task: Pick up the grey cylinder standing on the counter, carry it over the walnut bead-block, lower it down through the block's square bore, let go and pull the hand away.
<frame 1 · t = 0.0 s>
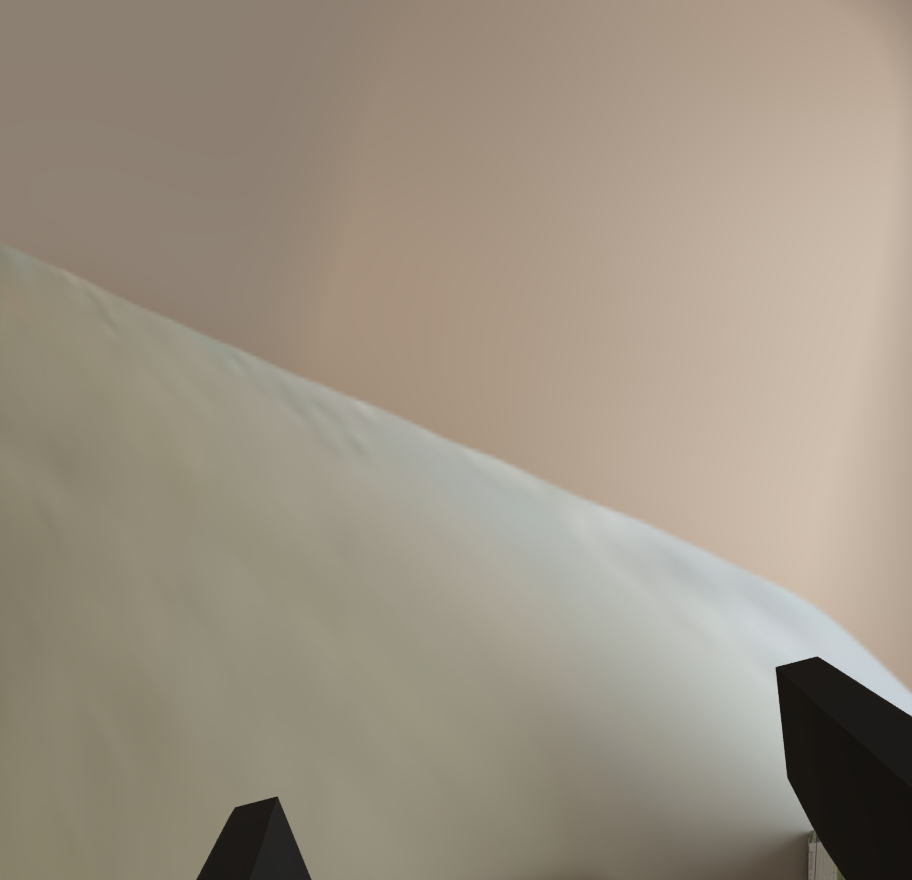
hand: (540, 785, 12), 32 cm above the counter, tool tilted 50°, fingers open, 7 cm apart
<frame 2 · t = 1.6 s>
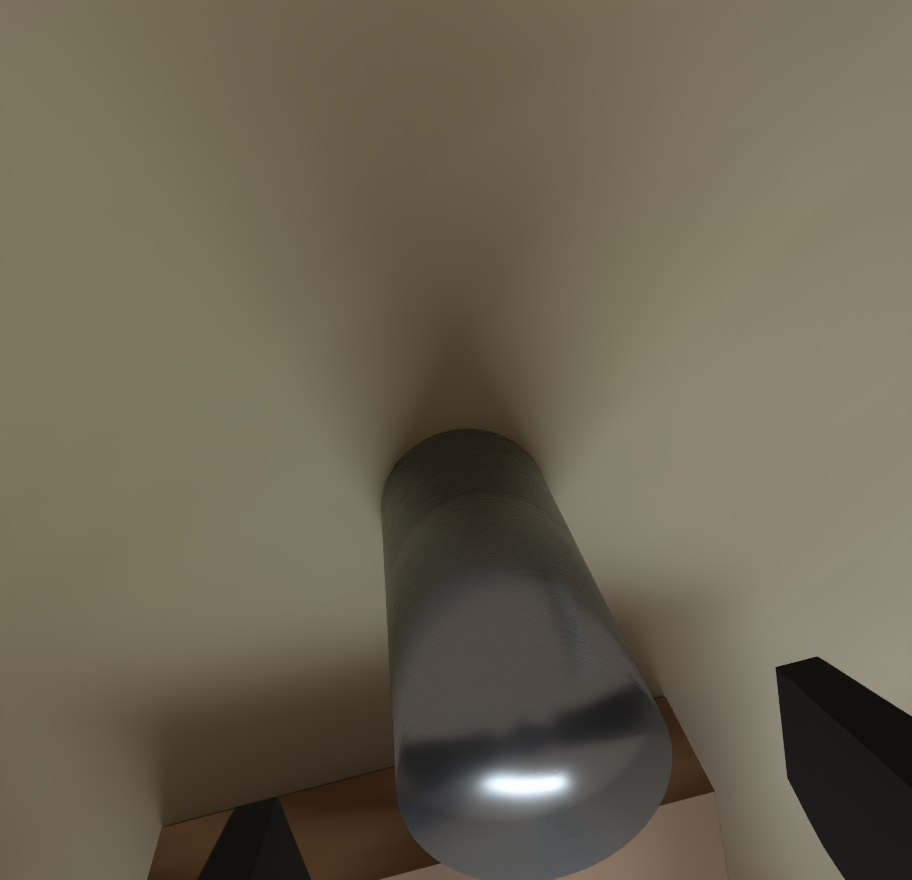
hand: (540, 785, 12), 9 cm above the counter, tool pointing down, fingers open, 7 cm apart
grey cylinder: (464, 507, 21), on the counter
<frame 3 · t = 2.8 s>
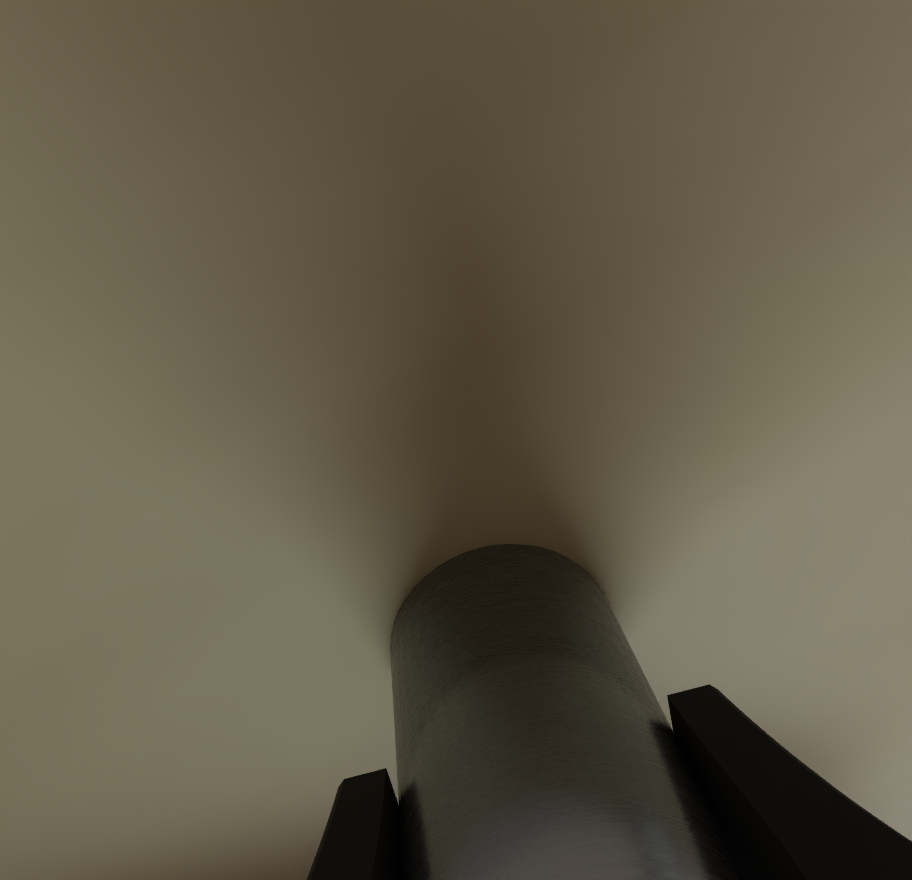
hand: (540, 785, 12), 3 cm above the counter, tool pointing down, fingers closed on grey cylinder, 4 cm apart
grey cylinder: (503, 644, 15), on the counter, touching gripper
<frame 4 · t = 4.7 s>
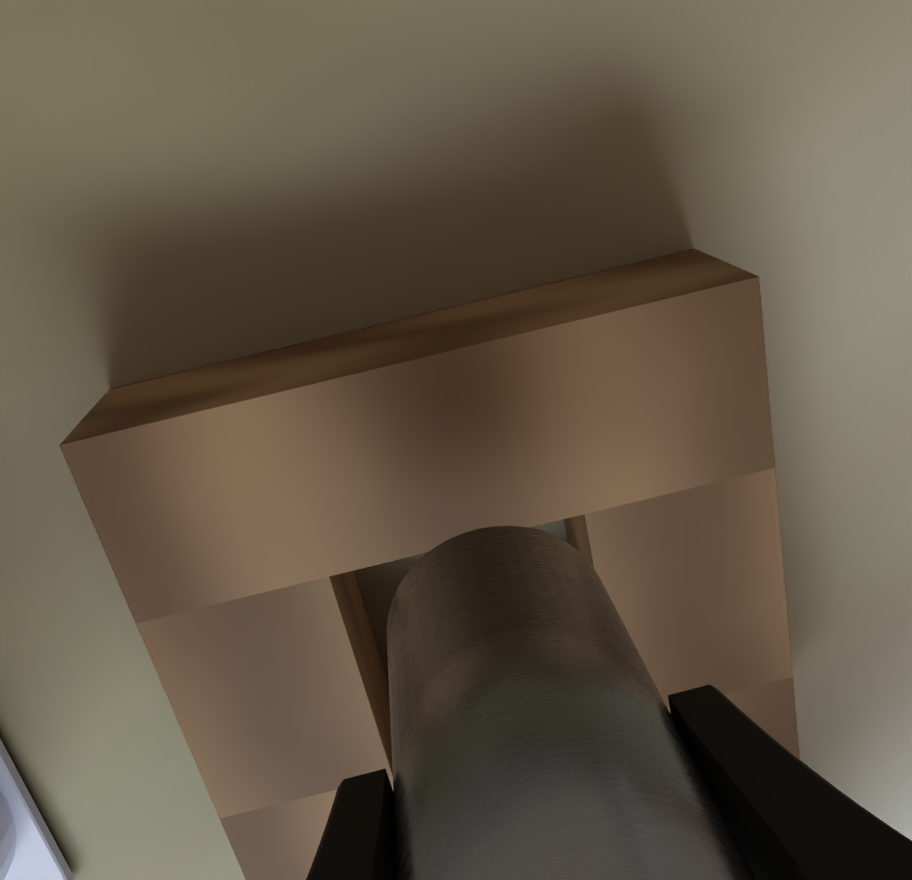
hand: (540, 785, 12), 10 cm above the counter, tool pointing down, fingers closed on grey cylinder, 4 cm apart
bead block: (466, 573, 23), on the counter
grey cylinder: (498, 627, 15), point 7 cm above the counter, touching gripper
when the fingers open (4 cm above the counter, at t = 6.8 s): grey cylinder stays where it is, resting in bead block.
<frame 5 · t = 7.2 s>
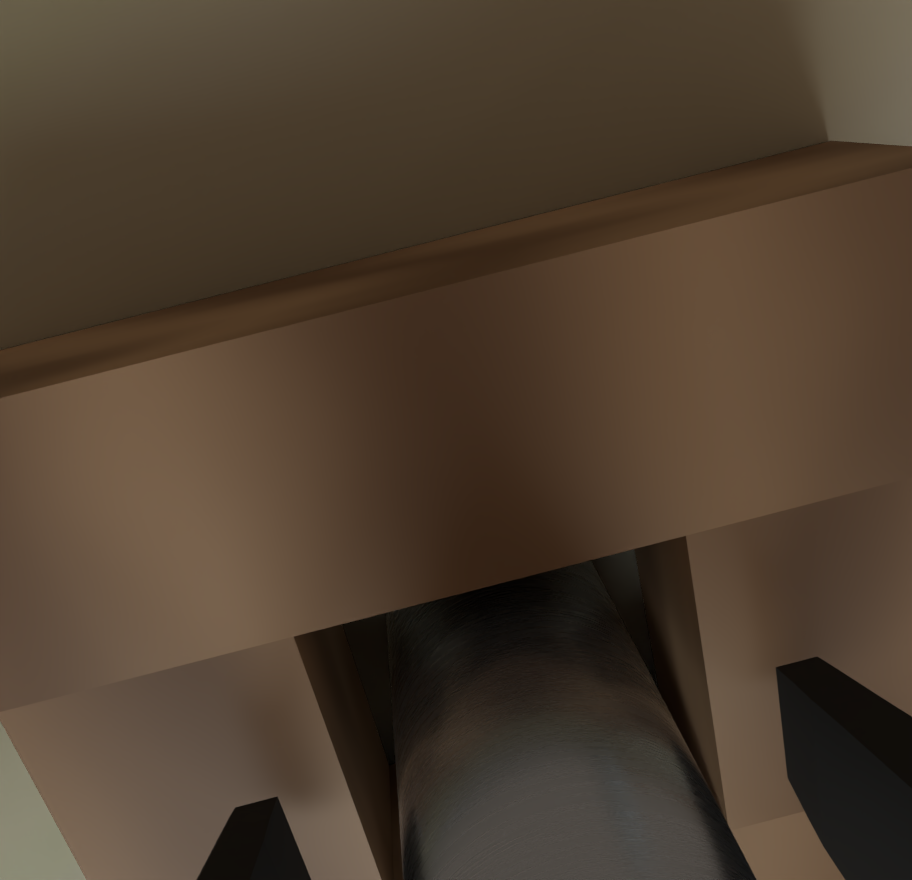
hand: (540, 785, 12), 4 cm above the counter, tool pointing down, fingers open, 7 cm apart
bead block: (495, 614, 16), on the counter
grey cylinder: (492, 603, 16), resting in bead block
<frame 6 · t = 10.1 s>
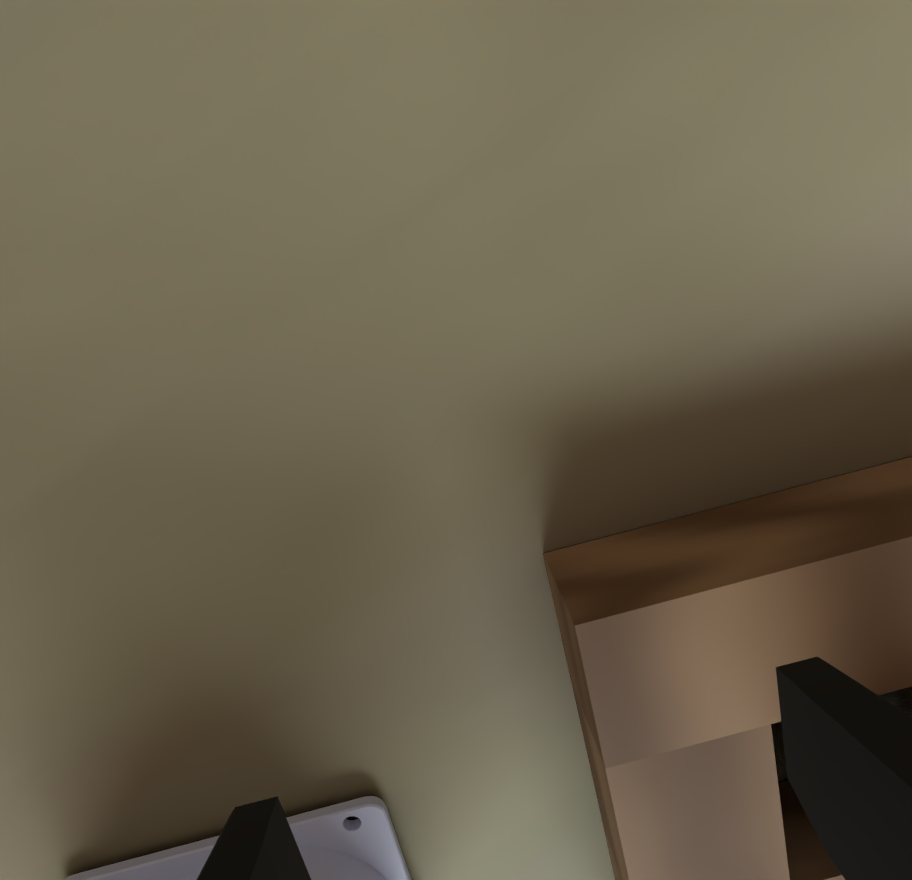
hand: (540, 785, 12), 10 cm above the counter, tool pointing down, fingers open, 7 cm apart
bead block: (817, 697, 25), on the counter
grey cylinder: (817, 690, 25), resting in bead block
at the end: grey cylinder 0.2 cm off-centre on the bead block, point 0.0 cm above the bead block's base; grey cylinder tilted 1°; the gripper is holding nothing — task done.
